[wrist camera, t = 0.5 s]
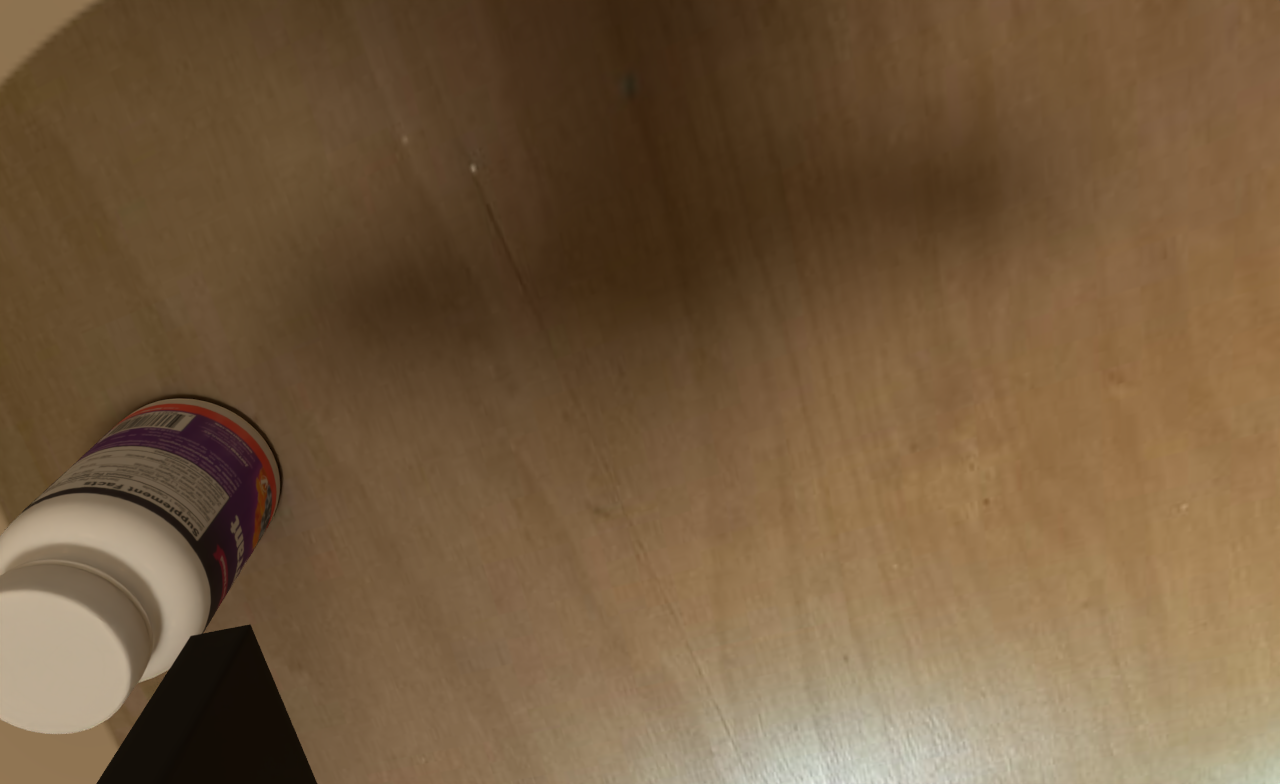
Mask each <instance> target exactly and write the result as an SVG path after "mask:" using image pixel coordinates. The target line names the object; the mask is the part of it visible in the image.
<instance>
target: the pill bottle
mask: <svg viewBox="0 0 1280 784" xmlns="http://www.w3.org/2000/svg"><path fill="white" fill-rule="evenodd" d="M279 494H280V477H279V471H278V467H277V464H276V461H275V458H274V456H273V453H272V451H271V450H270V448H269V446H268V444H267V443H266V441H265V440H264V439H263V437H262V436H261V435H260V434H259V433H258V432H257V431H256V429H255V428H253V427H252V426H251V425H250V424H249V423H248V422H246V421H245V420H244V419H243V418H241V417H240V416H238V415H237V414H235V413H233V412H231V411H229V410H227V409H225V408H223V407H221V406H218V405H216V404H213V403H209V402H206V401H201V400H195V399H182V398H178V399H167V400H161V401H157V402H154V403H151V404H148V405H146V406H144V407H141V408H139V409H138V410H136V411H134V412H133V413H131V414H130V415H128V416H127V417H126V418H125V419H123V420H122V421H121V422H119V423H118V424H117V425H116V426H115V427H114V428H112V429H111V430H110V431H109V432H108V433H107V434H106V435H105V436H104V437H103V438H102V439H101V440H100V441H98V442H97V443H96V444H95V445H94V446H93V447H92V448H91V449H90V450H89V451H88V452H87V453H86V454H84V455H83V456H82V457H81V458H80V459H79V460H78V461H77V462H76V463H75V464H74V465H73V466H72V467H71V468H70V469H68V470H67V471H66V472H65V473H64V474H63V475H62V476H61V477H60V478H59V479H57V480H56V481H55V482H54V483H53V484H52V485H51V486H50V487H49V488H47V489H46V490H45V491H44V492H43V493H42V494H41V495H40V496H39V497H38V498H37V499H35V500H34V502H32V503H31V504H30V505H29V506H28V507H27V508H26V509H24V511H23V512H22V513H21V514H20V515H19V516H18V517H17V518H16V519H15V520H14V521H13V522H12V523H11V524H10V525H9V526H8V527H7V528H6V529H5V531H4V532H3V533H2V535H1V536H0V719H1V720H3V721H5V722H7V723H9V724H11V725H13V726H16V727H19V728H22V729H25V730H29V731H33V732H38V733H47V734H67V733H75V732H80V731H83V730H87V729H90V728H93V727H95V726H97V725H99V724H101V723H102V722H104V721H106V720H107V719H109V718H110V717H111V716H112V715H113V714H114V713H115V712H116V711H117V710H119V709H120V707H121V706H122V705H123V703H124V702H125V700H126V699H127V697H128V696H129V694H130V693H131V692H132V690H133V689H134V687H135V686H136V685H137V683H139V682H142V681H145V680H148V679H151V678H153V677H156V676H158V675H160V674H162V673H164V672H165V671H167V670H169V669H170V668H171V666H172V665H173V663H174V661H175V660H176V658H177V657H178V655H179V654H180V652H181V650H182V649H183V647H184V646H185V644H186V643H187V641H188V639H189V638H190V636H193V635H198V634H203V632H204V631H205V629H206V627H207V626H208V624H209V622H210V621H211V619H212V617H213V616H214V614H215V612H216V611H217V609H218V607H219V606H220V604H221V603H222V601H223V599H224V598H225V596H226V594H227V593H228V591H229V590H230V588H231V586H232V585H233V583H234V581H235V580H236V578H237V577H238V575H239V574H240V572H241V570H242V568H243V567H244V565H245V563H246V562H247V560H248V559H249V557H250V555H251V554H252V552H253V550H254V549H255V547H256V545H257V544H258V542H259V540H260V539H261V537H262V536H263V534H264V532H265V531H266V529H267V527H268V525H269V523H270V521H271V519H272V517H273V515H274V513H275V510H276V508H277V504H278V500H279Z"/></svg>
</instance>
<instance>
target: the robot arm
mask: <svg viewBox="0 0 1280 784" xmlns="http://www.w3.org/2000/svg"><path fill="white" fill-rule="evenodd" d="M97 784H317V782H316V780H315V777H314V775H313V773H312V770H311V768H310V765H309V763H308V761H307V758H306V756H305V754H304V751H303V749H302V746H301V744H300V742H299V739H298V737H297V734H296V732H295V730H294V727H293V725H292V723H291V720H290V718H289V715H288V713H287V711H286V708H285V706H284V703H283V701H282V699H281V696H280V694H279V692H278V689H277V687H276V684H275V682H274V680H273V677H272V675H271V673H270V670H269V668H268V665H267V663H266V661H265V658H264V656H263V653H262V651H261V649H260V646H259V644H258V642H257V639H256V637H255V634H254V632H253V630H252V627H251V625H245V626H240V627H235V628H229V629H224V630H219V631H214V632H209V633H203V634H198V635H193V636H190V638H189V639H188V641H187V643H186V644H185V646H184V647H183V649H182V650H181V652H180V654H179V655H178V657H177V658H176V660H175V661H174V663H173V665H172V666H171V668H170V669H169V671H168V672H167V674H166V675H165V677H164V679H163V680H162V682H161V683H160V685H159V686H158V688H157V690H156V691H155V693H154V694H153V696H152V697H151V699H150V701H149V702H148V704H147V705H146V707H145V708H144V710H143V712H142V713H141V715H140V716H139V718H138V719H137V721H136V723H135V724H134V726H133V727H132V729H131V730H130V732H129V734H128V735H127V737H126V738H125V740H124V741H123V743H122V744H121V746H120V748H119V749H118V751H117V752H116V754H115V755H114V757H113V759H112V760H111V762H110V763H109V765H108V766H107V768H106V770H105V771H104V773H103V774H102V776H101V777H100V779H99V781H98V782H97Z"/></svg>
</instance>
